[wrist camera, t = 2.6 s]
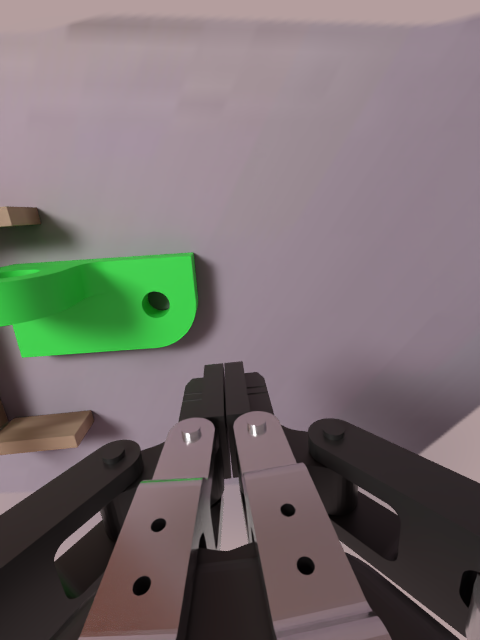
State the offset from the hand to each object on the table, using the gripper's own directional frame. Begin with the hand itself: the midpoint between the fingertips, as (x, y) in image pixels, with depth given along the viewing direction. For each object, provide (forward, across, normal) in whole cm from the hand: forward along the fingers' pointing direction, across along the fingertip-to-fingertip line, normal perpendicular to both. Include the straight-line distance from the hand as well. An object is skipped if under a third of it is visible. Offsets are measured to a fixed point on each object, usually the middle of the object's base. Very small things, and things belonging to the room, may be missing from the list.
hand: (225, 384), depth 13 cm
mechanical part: (+11, +8, -1) cm, 14 cm away
